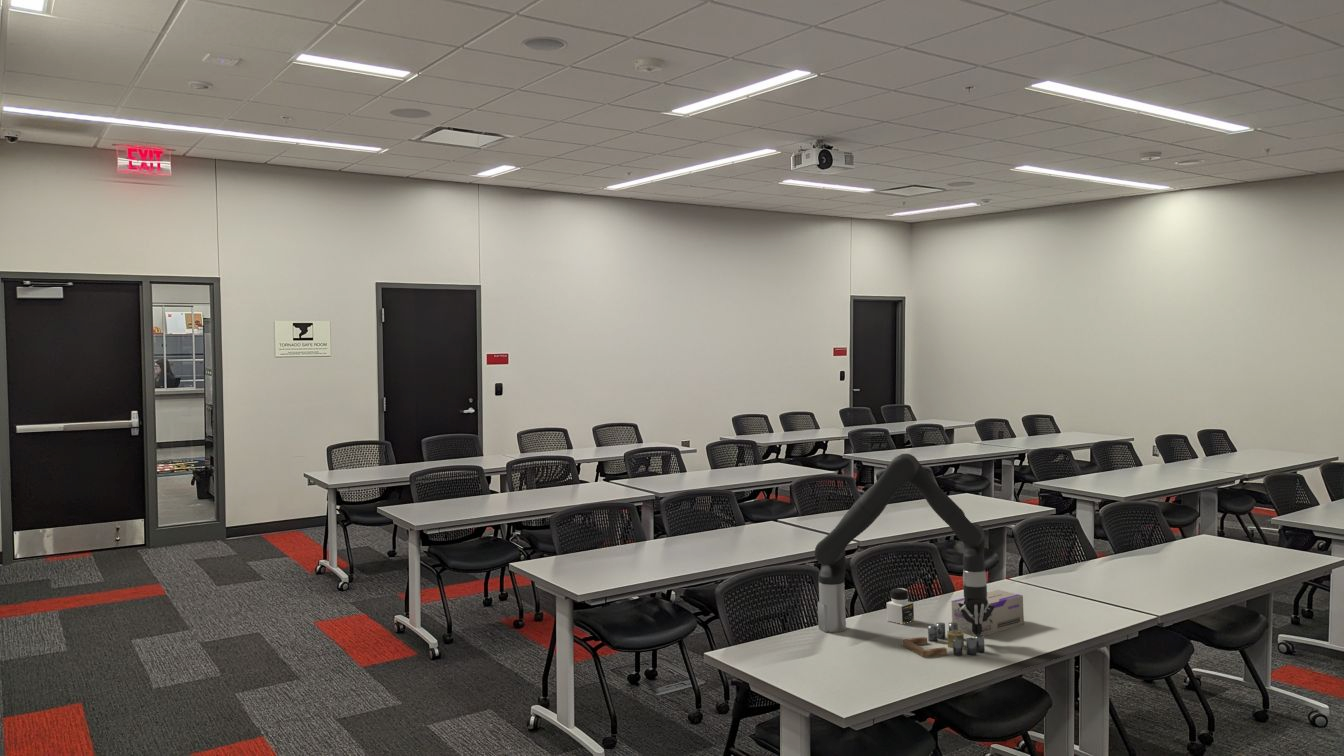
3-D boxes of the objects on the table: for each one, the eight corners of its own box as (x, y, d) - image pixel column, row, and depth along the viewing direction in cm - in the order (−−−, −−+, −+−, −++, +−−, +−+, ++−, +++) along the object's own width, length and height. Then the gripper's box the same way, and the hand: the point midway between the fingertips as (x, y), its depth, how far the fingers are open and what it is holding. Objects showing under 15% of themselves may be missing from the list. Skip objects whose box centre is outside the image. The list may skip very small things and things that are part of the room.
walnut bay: (923, 657, 287) (923, 651, 287) (902, 645, 301) (902, 639, 301) (946, 654, 289) (946, 648, 289) (925, 642, 303) (924, 636, 303)
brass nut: (952, 649, 294) (951, 636, 294) (943, 645, 299) (943, 631, 299) (968, 647, 296) (967, 634, 296) (959, 643, 301) (959, 629, 301)
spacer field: (959, 657, 286) (958, 642, 286) (924, 638, 307) (923, 624, 307) (989, 653, 288) (988, 638, 288) (952, 635, 309) (952, 620, 309)
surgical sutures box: (999, 618, 328) (998, 589, 328) (1023, 624, 319) (1022, 595, 319) (952, 630, 315) (951, 600, 315) (976, 637, 306) (975, 607, 306)
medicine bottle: (902, 625, 324) (901, 592, 324) (886, 621, 329) (885, 589, 329) (914, 621, 328) (913, 589, 328) (898, 617, 334) (897, 585, 334)
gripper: (963, 587, 294) (966, 639, 294) (998, 583, 297) (1001, 635, 297) (951, 582, 301) (953, 633, 301) (985, 579, 304) (988, 629, 304)
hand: (977, 634), depth 299 cm, fingers closed
